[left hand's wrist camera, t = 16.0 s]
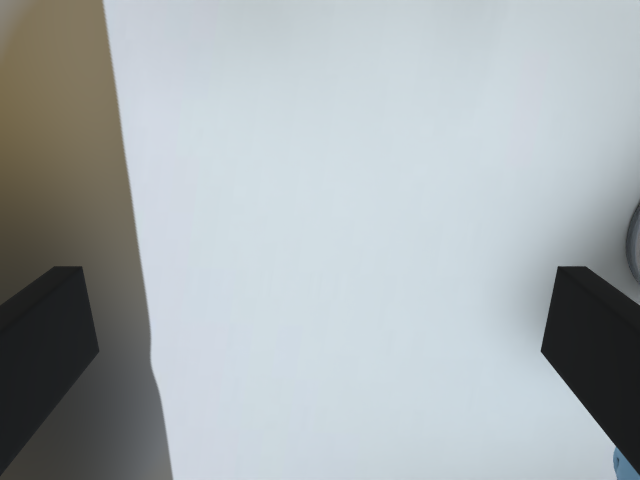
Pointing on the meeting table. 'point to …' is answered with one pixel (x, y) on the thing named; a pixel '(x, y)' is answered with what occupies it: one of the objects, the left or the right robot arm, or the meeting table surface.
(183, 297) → the meeting table surface
